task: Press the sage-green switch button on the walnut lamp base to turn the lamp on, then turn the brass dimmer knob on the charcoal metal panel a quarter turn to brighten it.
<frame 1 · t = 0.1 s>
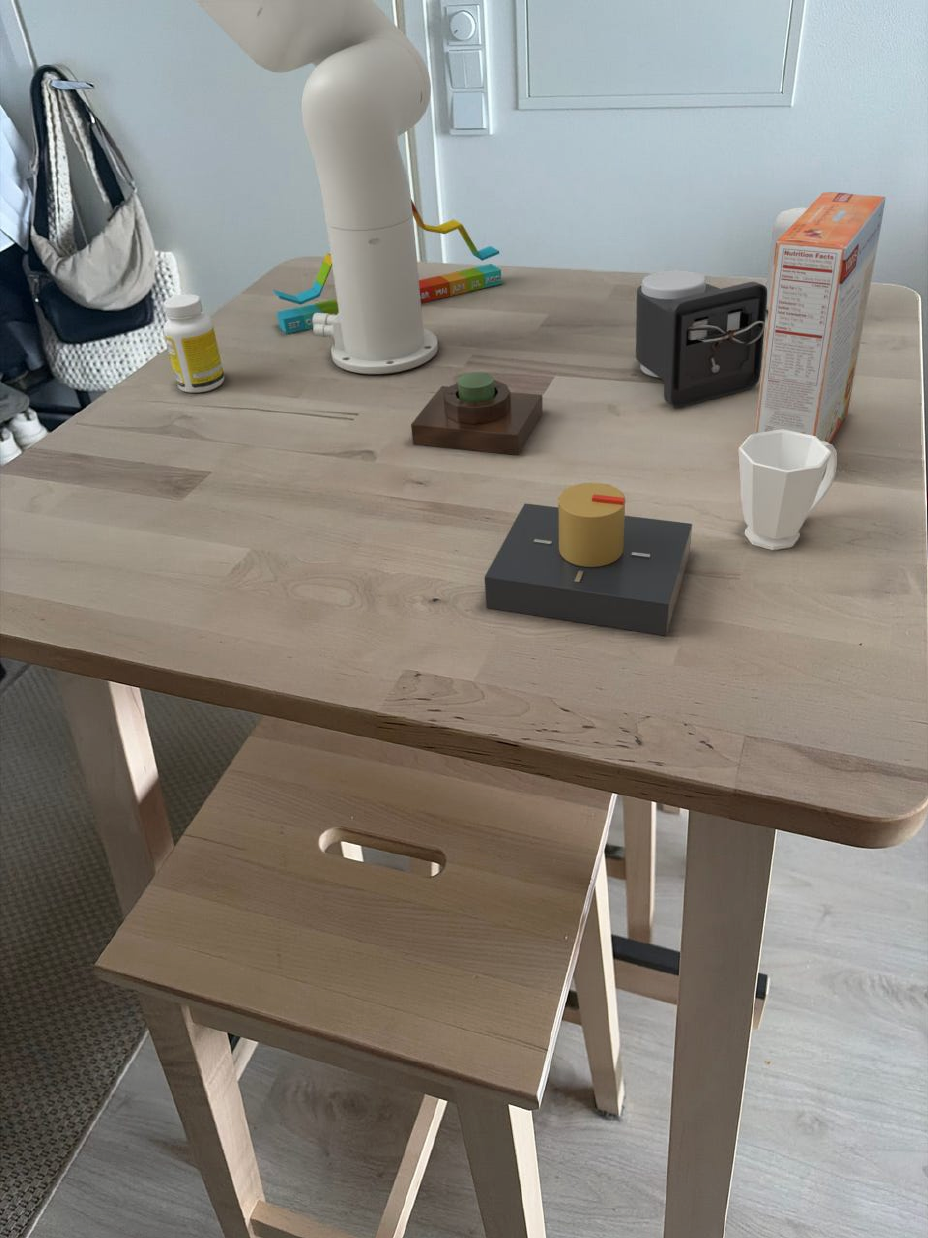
cup: (783, 531, 84), on the table
dimmer panel: (590, 580, 79), on the table
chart: (394, 306, 131), on the table
dimmer: (591, 522, 76), point 5 cm above the table, hinge at 0.0°
supplement bottle: (202, 385, 115), on the table
light fixture: (682, 378, 108), on the table
lamp base: (478, 428, 101), on the table
photo printer: (801, 319, 119), on the table
cracker box: (798, 442, 95), on the table
switch: (476, 387, 99), point 4 cm above the table, slide at 0.1 cm
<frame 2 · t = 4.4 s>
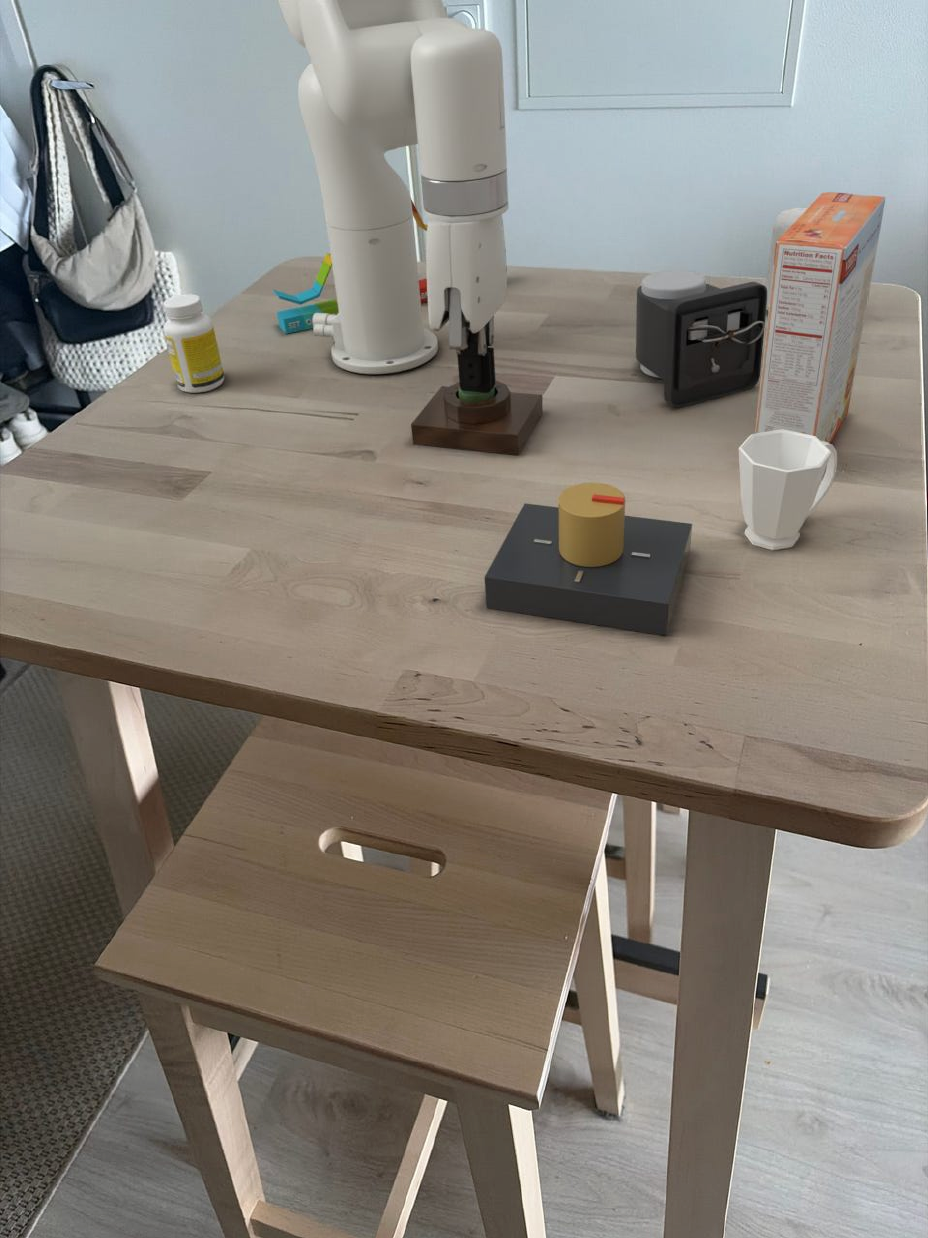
hand: (477, 388, 98), 5 cm above the table, tool pointing down, fingers closed
switch: (476, 395, 99), point 4 cm above the table, slide at -0.7 cm, touching gripper
everything else where it was.
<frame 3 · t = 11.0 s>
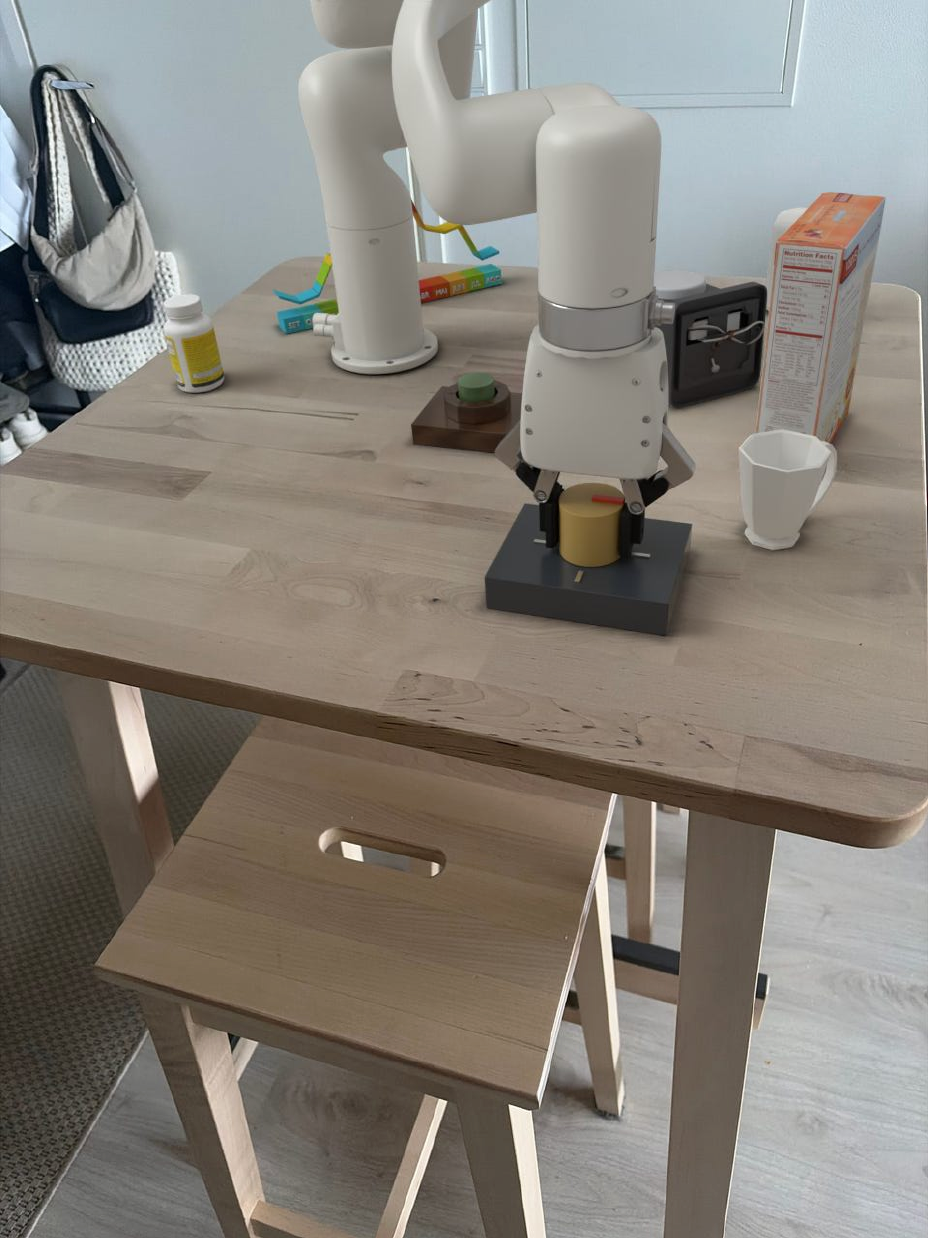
hand: (591, 541, 77), 4 cm above the table, tool pointing down, fingers closed on dimmer, 5 cm apart
dimmer: (591, 522, 76), point 5 cm above the table, hinge at 0.1°, touching gripper
switch: (476, 387, 99), point 4 cm above the table, slide at 0.1 cm
everything else where it was.
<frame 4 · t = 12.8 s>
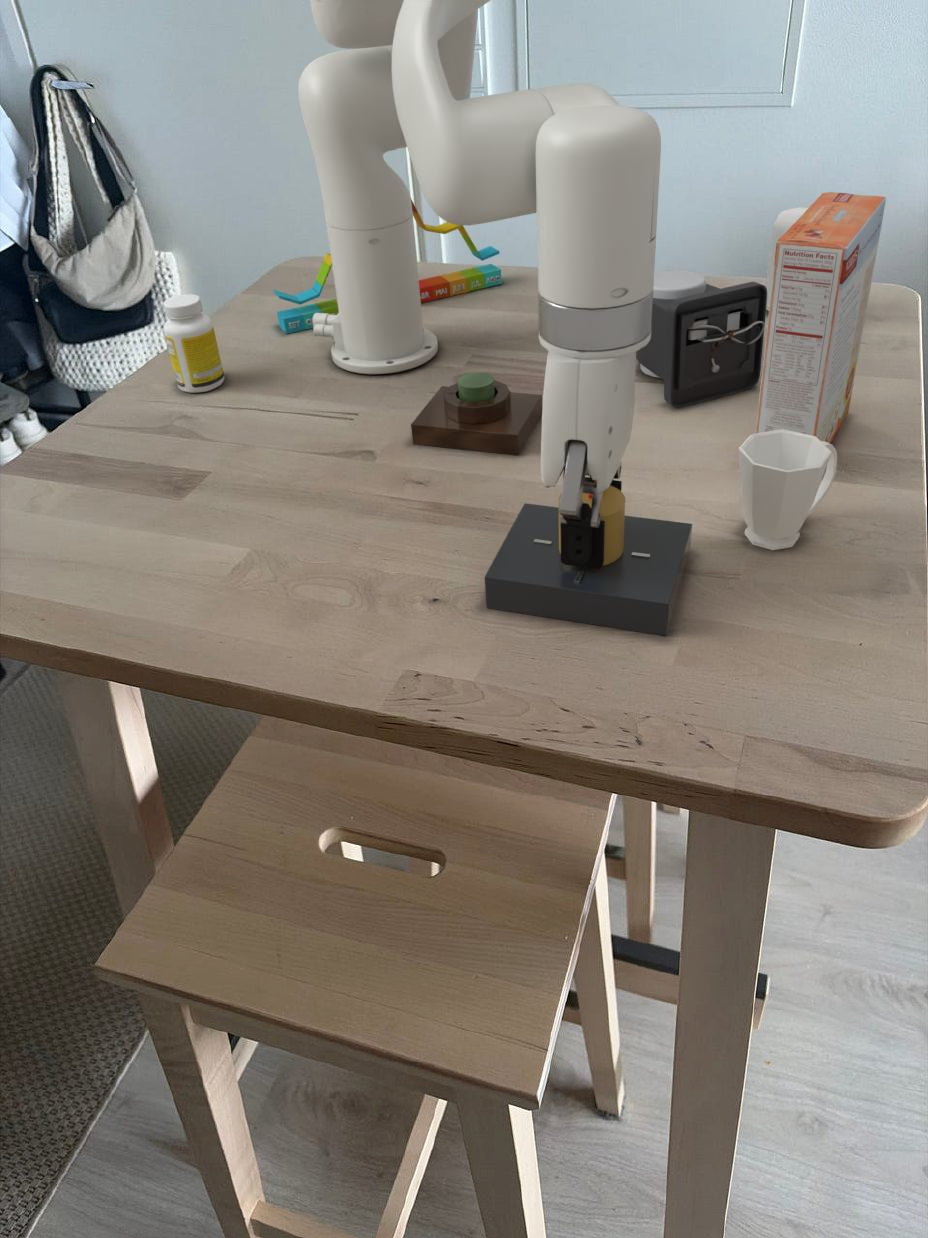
hand: (591, 541, 77), 4 cm above the table, tool pointing down, fingers closed on dimmer, 5 cm apart
dimmer: (591, 522, 76), point 5 cm above the table, hinge at 90.2°, touching gripper
everything else where it was.
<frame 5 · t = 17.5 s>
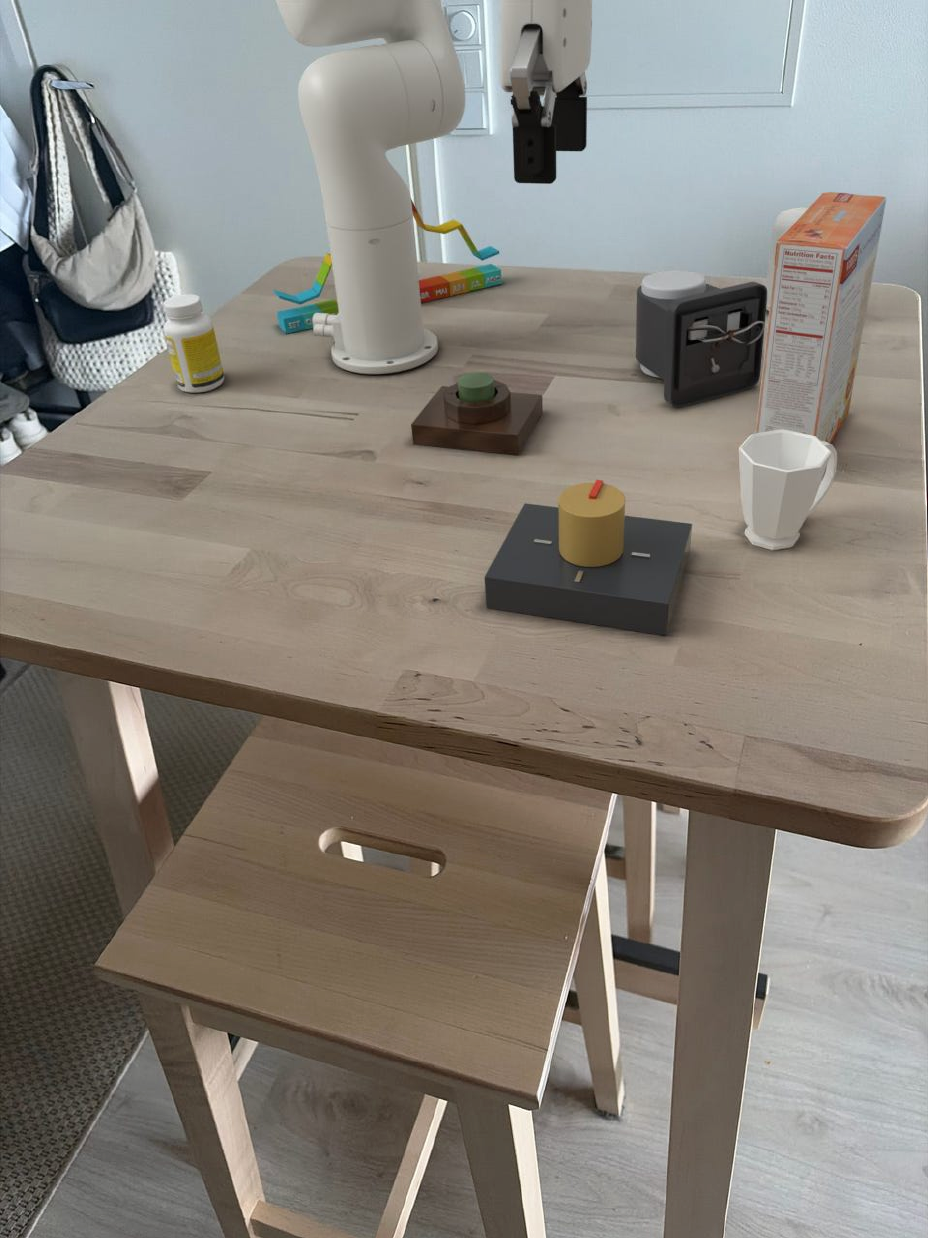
hand: (551, 165, 80), 26 cm above the table, tool pointing down, fingers open, 9 cm apart
dimmer: (591, 522, 76), point 5 cm above the table, hinge at 88.6°
everything else where it was.
at the end: switch pushed in 1.1 cm at the most during the clip, back to where it started at the end; switch slide at 0.1 cm; dimmer at +89° (first picture: +0°) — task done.
